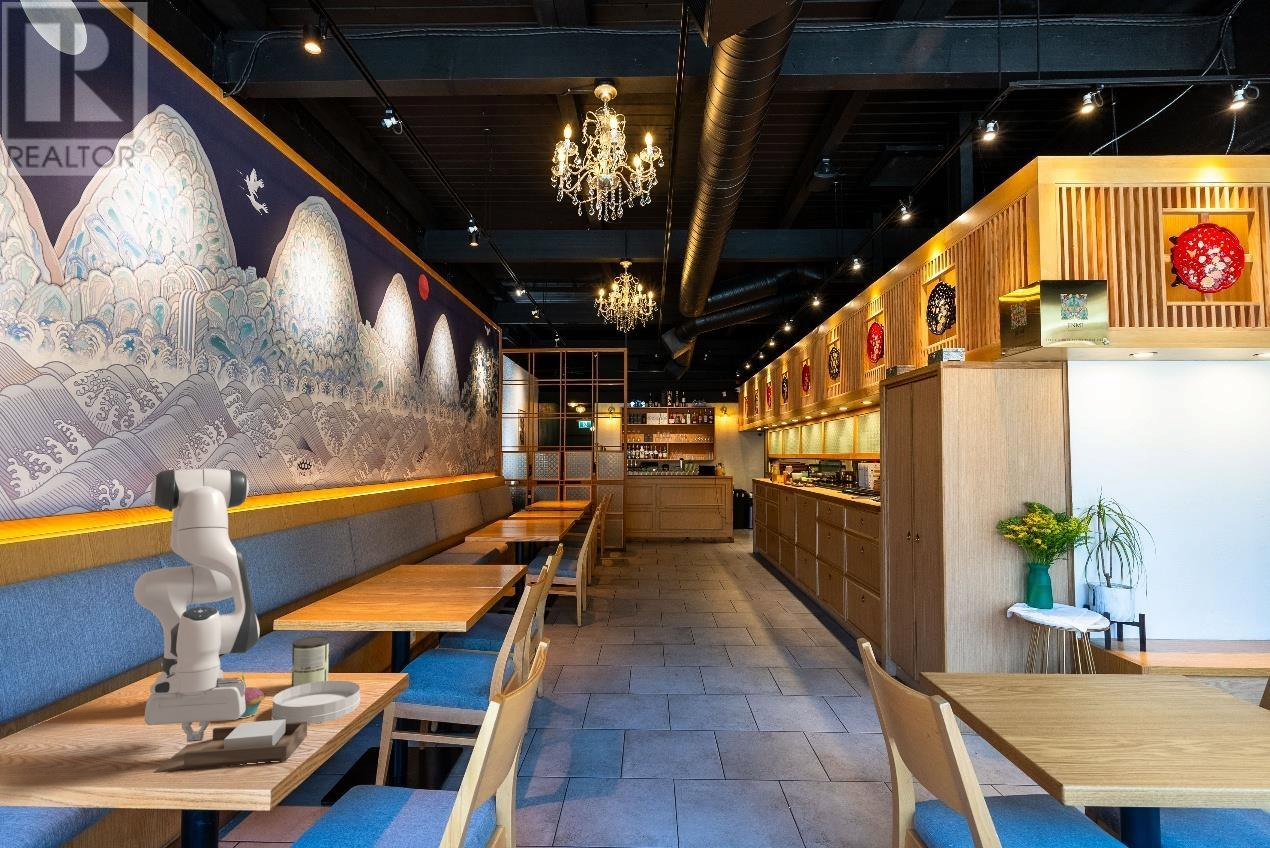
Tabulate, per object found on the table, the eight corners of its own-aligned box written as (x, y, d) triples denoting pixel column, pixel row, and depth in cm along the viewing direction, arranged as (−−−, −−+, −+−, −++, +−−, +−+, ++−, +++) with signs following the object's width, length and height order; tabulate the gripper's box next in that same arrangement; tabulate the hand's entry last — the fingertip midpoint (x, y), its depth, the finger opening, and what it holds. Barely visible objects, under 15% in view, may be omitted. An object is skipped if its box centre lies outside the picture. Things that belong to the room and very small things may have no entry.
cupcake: (255, 720, 175) (257, 673, 176) (220, 722, 173) (222, 675, 174) (268, 708, 183) (269, 664, 184) (235, 710, 182) (236, 666, 183)
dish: (376, 699, 191) (376, 682, 191) (327, 729, 169) (328, 709, 169) (307, 696, 194) (307, 678, 195) (251, 724, 173) (252, 704, 173)
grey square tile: (240, 740, 159) (240, 722, 159) (285, 736, 161) (285, 719, 162) (223, 757, 149) (224, 739, 150) (272, 752, 152) (272, 735, 152)
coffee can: (285, 688, 201) (286, 640, 202) (318, 679, 209) (320, 634, 210) (300, 695, 194) (301, 646, 195) (334, 686, 202) (335, 639, 203)
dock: (186, 747, 159) (187, 729, 159) (306, 738, 164) (307, 721, 164) (153, 775, 144) (154, 755, 145) (285, 764, 149) (286, 745, 149)
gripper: (251, 673, 159) (249, 731, 158) (157, 677, 155) (154, 738, 154) (240, 681, 153) (238, 742, 152) (142, 686, 149) (139, 749, 148)
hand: (195, 740), depth 153 cm, fingers closed
